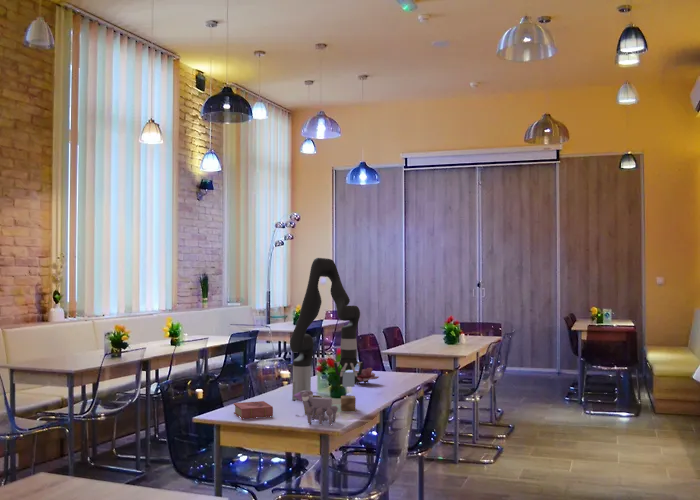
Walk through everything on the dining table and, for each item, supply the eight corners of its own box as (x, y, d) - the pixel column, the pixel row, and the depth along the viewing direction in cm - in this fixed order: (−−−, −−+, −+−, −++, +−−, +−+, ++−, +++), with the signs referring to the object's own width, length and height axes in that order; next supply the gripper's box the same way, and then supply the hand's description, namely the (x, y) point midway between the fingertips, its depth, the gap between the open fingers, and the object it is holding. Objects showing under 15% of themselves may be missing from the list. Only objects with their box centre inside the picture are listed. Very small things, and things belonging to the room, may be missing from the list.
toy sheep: (287, 422, 310) (288, 391, 311) (297, 419, 320) (298, 388, 321) (331, 426, 304) (332, 394, 305) (339, 422, 314) (340, 391, 315)
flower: (384, 379, 416) (379, 362, 417) (371, 385, 404) (366, 368, 405) (363, 383, 424) (358, 367, 425) (350, 390, 412) (345, 374, 413)
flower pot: (314, 419, 318) (314, 399, 318) (297, 416, 323) (297, 397, 323) (326, 415, 326) (326, 396, 326) (309, 413, 331) (309, 394, 331)
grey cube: (342, 386, 332) (342, 373, 332) (342, 384, 337) (342, 372, 337) (354, 386, 332) (354, 373, 332) (353, 384, 338) (353, 372, 338)
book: (242, 420, 315) (242, 409, 315) (233, 413, 329) (233, 403, 329) (273, 418, 321) (273, 407, 321) (263, 411, 335) (263, 401, 335)
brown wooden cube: (341, 411, 331) (341, 398, 331) (340, 408, 338) (340, 395, 338) (355, 411, 331) (355, 398, 332) (354, 408, 338) (354, 395, 338)
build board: (330, 414, 329) (330, 411, 329) (328, 406, 347) (329, 404, 347) (356, 413, 330) (356, 411, 330) (353, 406, 348) (353, 404, 348)
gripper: (333, 349, 331) (333, 385, 331) (364, 349, 332) (364, 385, 331) (333, 347, 339) (332, 383, 338) (363, 347, 339) (363, 383, 339)
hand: (348, 384), depth 335 cm, fingers closed on grey cube, 5 cm apart
